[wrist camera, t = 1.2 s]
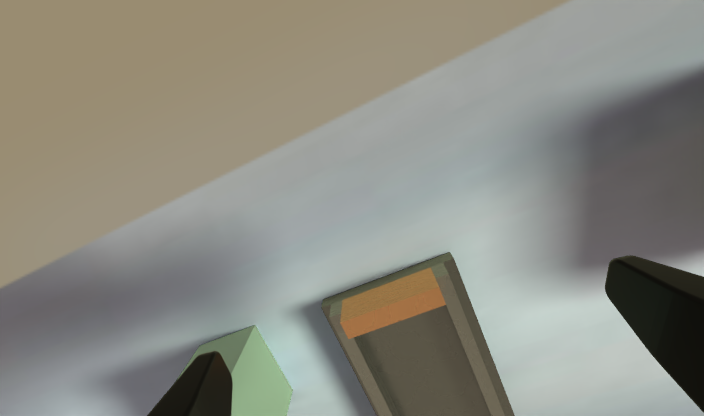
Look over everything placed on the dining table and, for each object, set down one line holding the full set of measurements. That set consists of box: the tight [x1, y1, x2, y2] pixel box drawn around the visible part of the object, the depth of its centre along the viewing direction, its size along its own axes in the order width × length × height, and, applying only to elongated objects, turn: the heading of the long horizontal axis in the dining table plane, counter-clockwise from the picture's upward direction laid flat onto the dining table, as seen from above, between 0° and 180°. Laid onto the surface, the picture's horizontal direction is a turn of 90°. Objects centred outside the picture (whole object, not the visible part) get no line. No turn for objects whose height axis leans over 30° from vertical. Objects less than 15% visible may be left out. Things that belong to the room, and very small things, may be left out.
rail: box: [321, 252, 514, 416], centre depth 24 cm, size 18×9×4 cm, turn 24°
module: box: [176, 325, 293, 416], centre depth 22 cm, size 6×4×8 cm
